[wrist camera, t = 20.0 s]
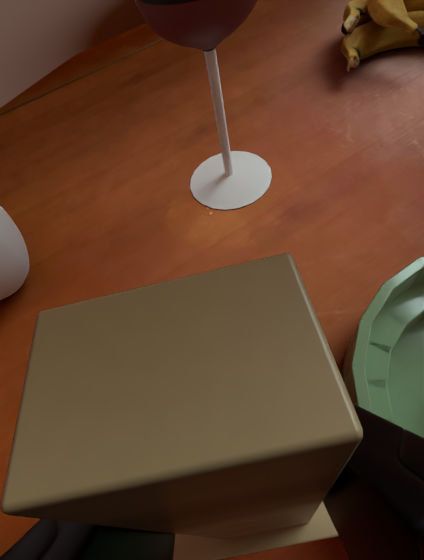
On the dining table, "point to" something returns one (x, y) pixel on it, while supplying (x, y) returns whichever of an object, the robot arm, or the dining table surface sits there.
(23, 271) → the sauce bottle
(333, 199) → the dining table surface
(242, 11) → the wineglass
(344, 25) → the banana
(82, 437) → the scoop
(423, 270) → the green bowl
